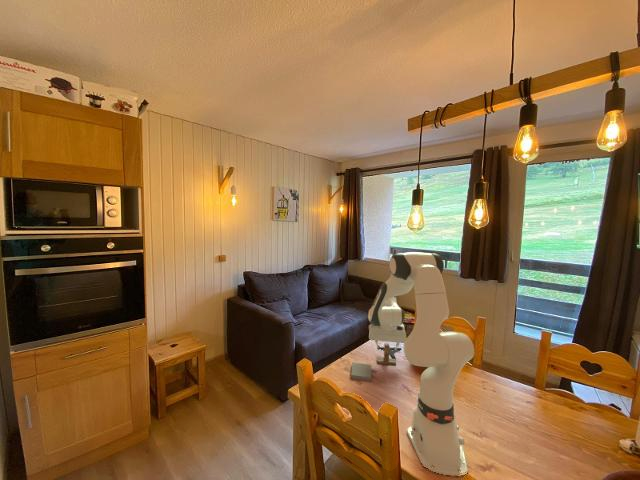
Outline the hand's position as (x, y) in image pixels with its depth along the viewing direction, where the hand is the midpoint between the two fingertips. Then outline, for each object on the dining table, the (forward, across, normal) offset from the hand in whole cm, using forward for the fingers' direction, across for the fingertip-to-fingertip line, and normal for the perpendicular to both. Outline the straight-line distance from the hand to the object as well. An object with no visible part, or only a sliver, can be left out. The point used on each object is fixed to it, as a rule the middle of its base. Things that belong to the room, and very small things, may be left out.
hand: (386, 348), depth 147 cm
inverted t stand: (+8, 0, 0) cm, 8 cm away
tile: (+7, -14, -7) cm, 17 cm away
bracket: (+9, +4, +10) cm, 14 cm away
